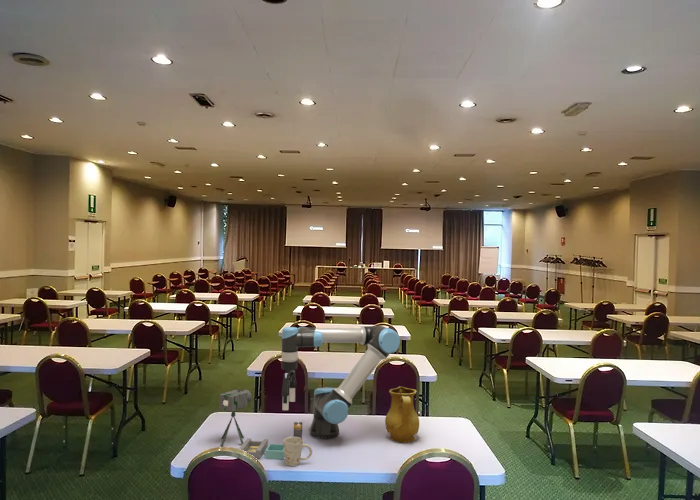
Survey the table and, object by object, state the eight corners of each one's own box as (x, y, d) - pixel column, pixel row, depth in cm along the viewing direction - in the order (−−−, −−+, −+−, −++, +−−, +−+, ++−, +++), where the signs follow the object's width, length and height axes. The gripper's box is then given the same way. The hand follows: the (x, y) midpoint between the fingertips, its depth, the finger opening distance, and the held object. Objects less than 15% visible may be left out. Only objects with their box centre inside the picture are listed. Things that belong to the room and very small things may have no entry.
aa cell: (302, 447, 228) (303, 420, 228) (300, 450, 223) (301, 423, 224) (293, 447, 228) (294, 420, 228) (292, 450, 224) (293, 422, 224)
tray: (287, 452, 221) (287, 444, 221) (283, 459, 213) (283, 451, 213) (269, 451, 222) (269, 443, 222) (264, 458, 213) (265, 450, 214)
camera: (233, 450, 222) (234, 395, 223) (209, 443, 230) (211, 390, 231) (256, 440, 236) (258, 388, 236) (233, 433, 244) (235, 383, 244)
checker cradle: (267, 447, 227) (268, 439, 227) (260, 459, 213) (260, 450, 213) (246, 446, 227) (247, 438, 228) (237, 458, 213) (238, 449, 214)
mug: (283, 459, 213) (284, 436, 213) (312, 459, 214) (312, 436, 214) (282, 467, 205) (283, 443, 205) (312, 467, 206) (312, 443, 206)
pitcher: (424, 434, 247) (422, 386, 247) (413, 449, 230) (411, 396, 230) (392, 430, 255) (391, 383, 255) (379, 443, 238) (378, 393, 238)
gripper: (287, 355, 241) (287, 398, 241) (274, 365, 216) (274, 413, 216) (302, 355, 240) (302, 398, 240) (291, 366, 216) (290, 414, 215)
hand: (288, 405), depth 228 cm, fingers open, 13 cm apart
